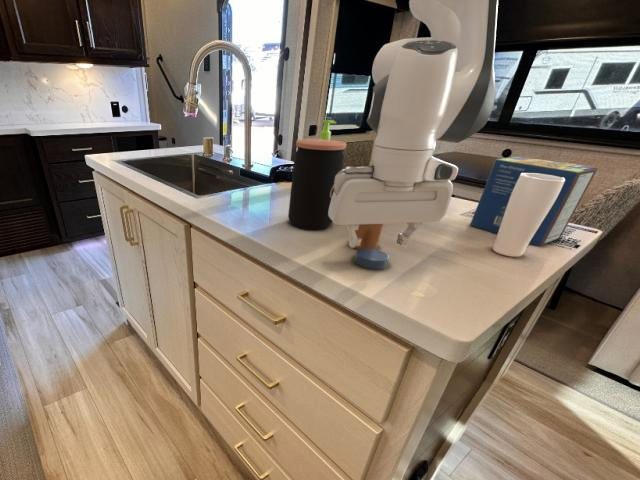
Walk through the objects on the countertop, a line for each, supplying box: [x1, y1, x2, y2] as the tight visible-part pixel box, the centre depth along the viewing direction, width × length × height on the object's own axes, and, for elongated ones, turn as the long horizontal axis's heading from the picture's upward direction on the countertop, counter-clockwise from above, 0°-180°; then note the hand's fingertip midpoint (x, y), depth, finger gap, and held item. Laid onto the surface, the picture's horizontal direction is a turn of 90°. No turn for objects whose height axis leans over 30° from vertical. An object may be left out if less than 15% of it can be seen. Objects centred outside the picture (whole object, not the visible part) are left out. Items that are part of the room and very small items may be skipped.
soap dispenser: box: [318, 119, 337, 140], centre depth 113 cm, size 6×7×20 cm
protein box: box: [469, 156, 599, 247], centre depth 76 cm, size 10×15×16 cm
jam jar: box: [355, 224, 384, 250], centre depth 68 cm, size 5×5×9 cm
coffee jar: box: [287, 138, 348, 231], centre depth 77 cm, size 11×11×18 cm
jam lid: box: [354, 248, 390, 270], centre depth 63 cm, size 6×6×2 cm
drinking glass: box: [491, 173, 565, 258], centre depth 65 cm, size 7×7×15 cm
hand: (378, 245), depth 62 cm, fingers open, 8 cm apart
